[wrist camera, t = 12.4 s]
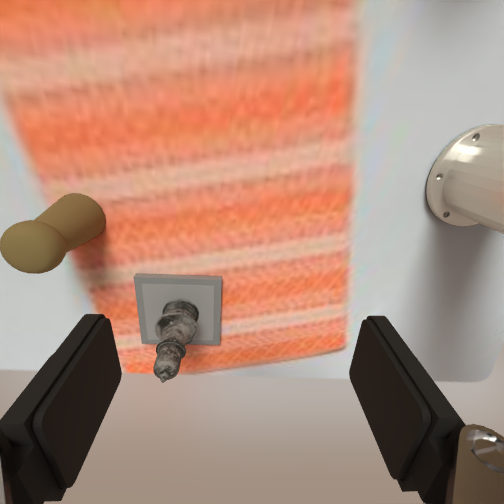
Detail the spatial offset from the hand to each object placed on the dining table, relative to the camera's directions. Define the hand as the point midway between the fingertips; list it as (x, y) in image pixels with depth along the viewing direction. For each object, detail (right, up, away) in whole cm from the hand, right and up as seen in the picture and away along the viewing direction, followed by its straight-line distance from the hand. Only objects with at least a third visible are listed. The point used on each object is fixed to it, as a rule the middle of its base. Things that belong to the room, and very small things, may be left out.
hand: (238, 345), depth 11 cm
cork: (-21, +8, +25) cm, 34 cm away
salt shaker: (-10, -6, +31) cm, 33 cm away
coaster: (-10, -5, +32) cm, 34 cm away
